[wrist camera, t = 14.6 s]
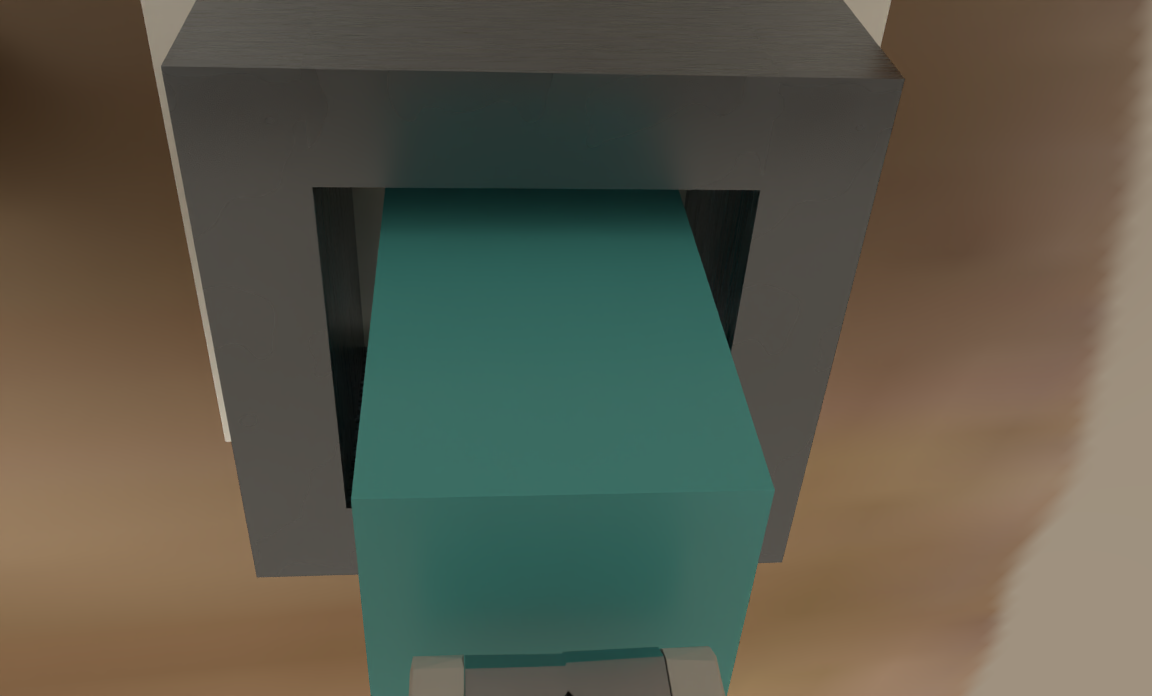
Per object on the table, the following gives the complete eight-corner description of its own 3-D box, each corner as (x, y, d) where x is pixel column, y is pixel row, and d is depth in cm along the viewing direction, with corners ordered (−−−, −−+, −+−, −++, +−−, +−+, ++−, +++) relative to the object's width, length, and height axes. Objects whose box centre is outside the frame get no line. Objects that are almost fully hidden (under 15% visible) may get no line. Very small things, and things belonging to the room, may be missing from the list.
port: (223, -51, 15) (161, 66, 12) (817, -34, 16) (904, 78, 13) (288, 410, 20) (256, 577, 17) (733, 404, 21) (782, 562, 18)
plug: (394, 101, 17) (351, 498, 10) (651, 105, 17) (774, 490, 10) (405, 312, 19) (376, 746, 12) (629, 310, 20) (717, 730, 13)
